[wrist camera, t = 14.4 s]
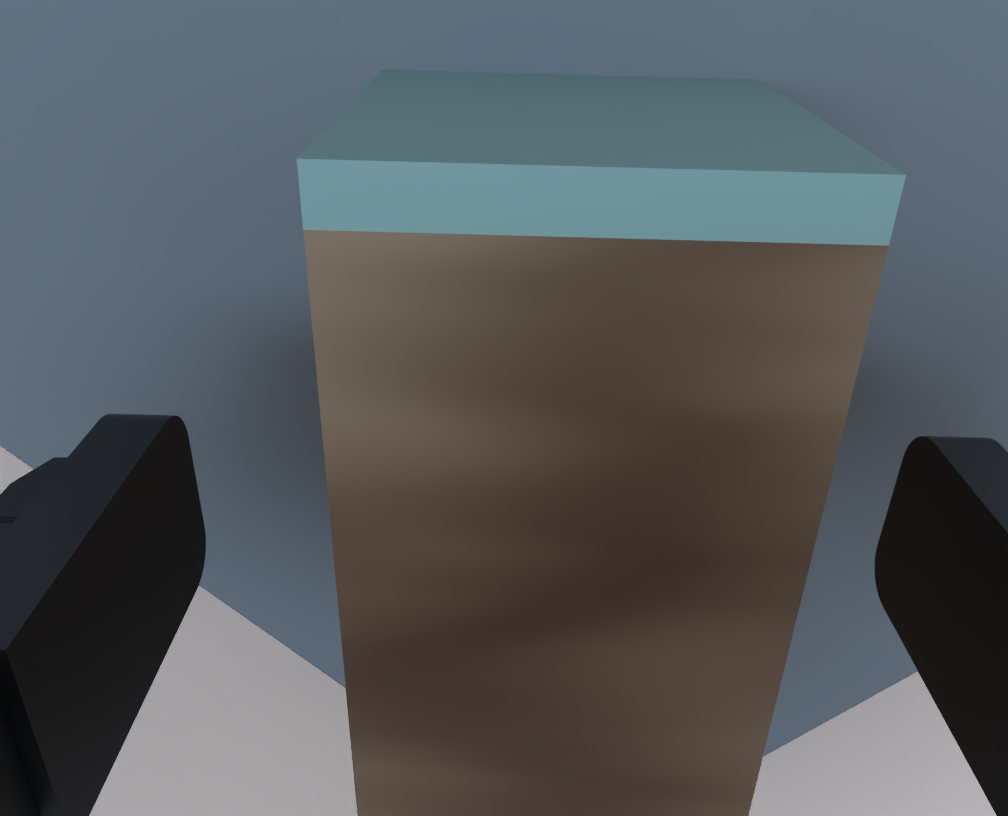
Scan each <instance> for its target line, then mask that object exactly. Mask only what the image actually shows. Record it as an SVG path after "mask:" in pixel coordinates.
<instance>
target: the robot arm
mask: <svg viewBox="0 0 1008 816" xmlns="http://www.w3.org/2000/svg"><path fill="white" fill-rule="evenodd" d="M205 555H206V533H205V526H204V520H203V514H202V509H201V503H200V497H199V492H198V486H197V480H196V475H195V469H194V464H193V458H192V452H191V447H190V441H189V436H188V432H187V429H186V426H185V424H184V422H183V420H182V419H181V418H180V417H179V416H176V415H142V414H106V415H104V416H103V417H101V418H100V419H99V420H98V422H97V423H96V424H95V425H94V426H93V428H92V429H91V430H90V431H89V432H88V434H87V435H86V436H85V437H84V438H83V440H82V441H81V442H80V443H79V444H78V446H77V447H76V448H75V449H74V450H73V451H72V453H71V454H70V455H69V456H68V457H54V458H52V459H50V460H49V461H47V462H45V463H44V464H42V465H40V466H39V467H37V468H36V469H34V470H32V471H31V472H29V473H27V474H26V475H24V476H22V477H21V478H19V479H17V480H16V481H14V482H13V483H11V484H10V485H9V486H8V487H7V488H6V489H5V490H4V491H3V492H2V494H1V495H0V816H89V815H90V813H91V810H92V808H93V806H94V804H95V802H96V800H97V798H98V796H99V794H100V792H101V789H102V787H103V785H104V783H105V781H106V779H107V777H108V775H109V773H110V771H111V768H112V766H113V764H114V762H115V760H116V758H117V756H118V754H119V752H120V750H121V747H122V745H123V743H124V741H125V739H126V737H127V735H128V733H129V731H130V729H131V727H132V724H133V722H134V720H135V718H136V716H137V714H138V712H139V710H140V708H141V706H142V703H143V701H144V699H145V697H146V695H147V693H148V691H149V689H150V687H151V685H152V682H153V680H154V678H155V676H156V674H157V672H158V670H159V668H160V666H161V664H162V661H163V659H164V657H165V655H166V653H167V651H168V649H169V647H170V645H171V643H172V640H173V638H174V636H175V634H176V632H177V630H178V628H179V626H180V624H181V622H182V620H183V617H184V615H185V613H186V611H187V609H188V607H189V605H190V603H191V601H192V599H193V596H194V594H195V592H196V590H197V588H198V586H199V583H200V580H201V577H202V573H203V569H204V563H205ZM875 582H876V588H877V592H878V596H879V599H880V601H881V604H882V606H883V608H884V610H885V611H886V613H887V615H888V617H889V619H890V621H891V622H892V624H893V626H894V628H895V630H896V632H897V633H898V635H899V637H900V639H901V641H902V643H903V644H904V646H905V648H906V650H907V652H908V654H909V656H910V657H911V659H912V661H913V663H914V665H915V667H916V668H917V670H918V672H919V674H920V676H921V678H922V679H923V681H924V683H925V685H926V687H927V689H928V690H929V692H930V694H931V696H932V698H933V700H934V701H935V703H936V705H937V707H938V709H939V711H940V712H941V714H942V716H943V718H944V720H945V722H946V723H947V725H948V727H949V729H950V731H951V733H952V734H953V736H954V738H955V740H956V742H957V744H958V745H959V747H960V749H961V751H962V753H963V755H964V756H965V758H966V760H967V762H968V764H969V766H970V767H971V769H972V771H973V773H974V775H975V777H976V778H977V780H978V782H979V784H980V786H981V788H982V789H983V791H984V793H985V795H986V797H987V799H988V800H989V802H990V804H991V806H992V808H993V810H994V811H995V813H996V815H997V816H1008V452H1007V451H1006V450H1005V449H1004V448H1003V447H1002V446H1001V445H1000V444H999V443H998V442H997V441H995V440H993V439H991V438H979V437H939V436H920V437H917V438H915V439H914V440H913V441H911V443H910V444H909V445H908V447H907V449H906V451H905V453H904V456H903V459H902V463H901V466H900V470H899V473H898V476H897V480H896V483H895V487H894V490H893V494H892V497H891V500H890V504H889V507H888V511H887V514H886V517H885V521H884V524H883V528H882V531H881V535H880V538H879V541H878V545H877V549H876V554H875Z"/></svg>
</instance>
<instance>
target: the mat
mask: <svg viewBox="0 0 1008 816" xmlns="http://www.w3.org/2000/svg"><path fill="white" fill-rule="evenodd" d="M381 70H407V71H445V72H484V73H522V74H560V75H598V76H636V77H675V78H713V79H751V80H761V81H763V82H764V83H766V84H767V85H769V86H770V87H772V88H773V89H775V90H776V91H778V92H779V93H781V94H783V95H784V96H786V97H787V98H789V99H790V100H792V101H793V102H795V103H796V104H798V105H799V106H801V107H803V108H804V109H806V110H807V111H809V112H810V113H812V114H813V115H815V116H816V117H818V118H819V119H821V120H823V121H824V122H826V123H827V124H829V125H830V126H832V127H833V128H835V129H836V130H838V131H839V132H841V133H842V134H844V135H846V136H847V137H849V138H850V139H852V140H853V141H855V142H856V143H858V144H859V145H861V146H862V147H864V148H866V149H867V150H869V151H870V152H872V153H873V154H875V155H876V156H878V157H879V158H881V159H882V160H884V161H886V162H887V163H889V164H890V165H892V166H893V167H895V168H896V169H898V170H899V171H901V172H902V173H904V174H905V175H906V178H905V182H904V186H903V190H902V194H901V198H900V202H899V206H898V210H897V214H896V219H895V223H894V227H893V231H892V235H891V239H890V243H889V247H888V251H887V255H886V259H885V263H884V267H883V271H882V275H881V279H880V283H879V287H878V291H877V295H876V300H875V304H874V308H873V312H872V316H871V320H870V324H869V328H868V332H867V336H866V340H865V344H864V348H863V352H862V356H861V360H860V364H859V368H858V372H857V376H856V381H855V385H854V389H853V393H852V397H851V401H850V405H849V409H848V413H847V417H846V421H845V425H844V429H843V433H842V437H841V441H840V445H839V449H838V453H837V457H836V462H835V466H834V470H833V474H832V478H831V482H830V486H829V490H828V494H827V498H826V502H825V506H824V510H823V514H822V518H821V522H820V526H819V530H818V534H817V539H816V543H815V547H814V551H813V555H812V559H811V563H810V567H809V571H808V575H807V579H806V583H805V587H804V591H803V595H802V599H801V603H800V607H799V611H798V615H797V620H796V624H795V628H794V632H793V636H792V640H791V644H790V648H789V652H788V656H787V660H786V664H785V668H784V672H783V676H782V680H781V684H780V688H779V692H778V696H777V701H776V705H775V709H774V713H773V717H772V721H771V725H770V729H769V733H768V737H767V741H766V745H765V749H764V753H763V756H765V755H767V754H768V753H770V752H772V751H774V750H776V749H777V748H779V747H781V746H783V745H785V744H787V743H788V742H790V741H792V740H794V739H796V738H797V737H799V736H801V735H803V734H805V733H806V732H808V731H810V730H812V729H814V728H815V727H817V726H819V725H821V724H823V723H825V722H826V721H828V720H830V719H832V718H834V717H835V716H837V715H839V714H841V713H843V712H844V711H846V710H848V709H850V708H852V707H853V706H855V705H857V704H859V703H861V702H862V701H864V700H866V699H868V698H870V697H872V696H873V695H875V694H877V693H879V692H881V691H882V690H884V689H886V688H888V687H890V686H891V685H893V684H895V683H897V682H899V681H900V680H902V679H904V678H906V677H908V676H909V675H911V674H913V673H915V672H917V671H918V670H917V668H916V667H915V665H914V663H913V661H912V659H911V657H910V656H909V654H908V652H907V650H906V648H905V646H904V644H903V643H902V641H901V639H900V637H899V635H898V633H897V632H896V630H895V628H894V626H893V624H892V622H891V621H890V619H889V617H888V615H887V613H886V611H885V610H884V608H883V606H882V604H881V601H880V599H879V596H878V592H877V588H876V582H875V554H876V549H877V545H878V541H879V538H880V535H881V531H882V528H883V524H884V521H885V517H886V514H887V511H888V507H889V504H890V500H891V497H892V494H893V490H894V487H895V483H896V480H897V476H898V473H899V470H900V466H901V463H902V459H903V456H904V453H905V451H906V449H907V447H908V445H909V444H910V443H911V441H913V440H914V439H915V438H917V437H920V436H939V437H979V438H991V439H993V440H995V441H997V442H998V443H999V444H1000V445H1001V446H1002V447H1003V448H1004V449H1005V450H1006V451H1007V452H1008V0H0V446H2V447H3V448H4V449H6V450H7V451H9V452H10V453H12V454H13V455H14V456H16V457H17V458H19V459H20V460H22V461H23V462H24V463H26V464H27V465H29V466H30V467H31V468H33V469H36V468H37V467H39V466H40V465H42V464H44V463H45V462H47V461H49V460H50V459H52V458H54V457H68V456H69V455H70V454H71V453H72V451H73V450H74V449H75V448H76V447H77V446H78V444H79V443H80V442H81V441H82V440H83V438H84V437H85V436H86V435H87V434H88V432H89V431H90V430H91V429H92V428H93V426H94V425H95V424H96V423H97V422H98V420H99V419H100V418H101V417H103V416H104V415H106V414H142V415H176V416H179V417H180V418H181V419H182V420H183V422H184V424H185V426H186V429H187V432H188V436H189V441H190V447H191V452H192V458H193V464H194V469H195V475H196V480H197V486H198V492H199V497H200V503H201V509H202V514H203V520H204V526H205V533H206V555H205V563H204V569H203V573H202V577H201V580H200V583H199V585H200V586H201V587H203V588H204V589H205V590H207V591H208V592H210V593H211V594H213V595H214V596H215V597H217V598H218V599H220V600H221V601H222V602H224V603H225V604H227V605H228V606H230V607H231V608H232V609H234V610H235V611H237V612H238V613H240V614H241V615H242V616H244V617H245V618H247V619H248V620H250V621H251V622H252V623H254V624H255V625H257V626H258V627H260V628H261V629H262V630H264V631H265V632H267V633H268V634H270V635H271V636H272V637H274V638H275V639H277V640H278V641H280V642H281V643H282V644H284V645H285V646H287V647H288V648H289V649H291V650H292V651H294V652H295V653H297V654H298V655H299V656H301V657H302V658H304V659H305V660H307V661H308V662H309V663H311V664H312V665H314V666H315V667H317V668H318V669H319V670H321V671H322V672H324V673H325V674H327V675H328V676H329V677H331V678H332V679H334V680H335V681H337V682H338V683H339V684H341V685H342V686H344V687H345V688H346V685H345V674H344V663H343V652H342V642H341V631H340V620H339V609H338V599H337V588H336V577H335V566H334V556H333V545H332V534H331V523H330V513H329V502H328V491H327V480H326V470H325V459H324V448H323V437H322V427H321V416H320V405H319V394H318V384H317V373H316V362H315V352H314V341H313V330H312V319H311V309H310V298H309V287H308V276H307V266H306V255H305V244H304V233H303V223H302V212H301V201H300V190H299V180H298V169H297V158H298V157H299V156H300V155H301V154H302V153H303V152H304V150H305V149H306V148H307V147H308V146H309V145H310V144H311V143H312V142H313V141H314V140H315V139H316V138H317V137H318V136H319V135H320V134H321V133H322V132H323V131H324V130H325V129H326V128H327V127H328V126H329V125H330V123H331V122H332V121H333V120H334V119H335V118H336V117H337V116H338V115H339V114H340V113H341V112H342V111H343V110H344V109H345V108H346V107H347V106H348V105H349V104H350V103H351V102H352V101H353V100H354V99H355V97H356V96H357V95H358V94H359V93H360V92H361V91H362V90H363V89H364V88H365V87H366V86H367V85H368V84H369V83H370V82H371V81H372V80H373V79H374V78H375V77H376V76H377V75H378V74H379V73H380V72H381Z"/></svg>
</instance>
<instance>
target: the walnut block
mask: <svg viewBox="0 0 1008 816" xmlns="http://www.w3.org/2000/svg"><path fill="white" fill-rule="evenodd" d="M297 169H298V180H299V190H300V201H301V212H302V223H303V233H304V244H305V255H306V266H307V276H308V287H309V298H310V309H311V319H312V330H313V341H314V352H315V362H316V373H317V384H318V394H319V405H320V416H321V427H322V437H323V448H324V459H325V470H326V480H327V491H328V502H329V513H330V523H331V534H332V545H333V556H334V566H335V577H336V588H337V599H338V609H339V620H340V631H341V642H342V652H343V663H344V674H345V685H346V695H347V706H348V717H349V728H350V738H351V749H352V760H353V771H354V781H355V792H356V803H357V814H358V816H748V814H749V810H750V806H751V802H752V798H753V794H754V790H755V786H756V782H757V777H758V773H759V769H760V765H761V761H762V757H763V753H764V749H765V745H766V741H767V737H768V733H769V729H770V725H771V721H772V717H773V713H774V709H775V705H776V701H777V696H778V692H779V688H780V684H781V680H782V676H783V672H784V668H785V664H786V660H787V656H788V652H789V648H790V644H791V640H792V636H793V632H794V628H795V624H796V620H797V615H798V611H799V607H800V603H801V599H802V595H803V591H804V587H805V583H806V579H807V575H808V571H809V567H810V563H811V559H812V555H813V551H814V547H815V543H816V539H817V534H818V530H819V526H820V522H821V518H822V514H823V510H824V506H825V502H826V498H827V494H828V490H829V486H830V482H831V478H832V474H833V470H834V466H835V462H836V457H837V453H838V449H839V445H840V441H841V437H842V433H843V429H844V425H845V421H846V417H847V413H848V409H849V405H850V401H851V397H852V393H853V389H854V385H855V381H856V376H857V372H858V368H859V364H860V360H861V356H862V352H863V348H864V344H865V340H866V336H867V332H868V328H869V324H870V320H871V316H872V312H873V308H874V304H875V300H876V295H877V291H878V287H879V283H880V279H881V275H882V271H883V267H884V263H885V259H886V255H887V251H888V247H889V243H890V239H891V235H892V231H893V227H894V223H895V219H896V214H897V210H898V206H899V202H900V198H901V194H902V190H903V186H904V182H905V178H906V175H905V174H904V173H902V172H901V171H899V170H898V169H896V168H895V167H893V166H892V165H890V164H889V163H887V162H886V161H884V160H882V159H881V158H879V157H878V156H876V155H875V154H873V153H872V152H870V151H869V150H867V149H866V148H864V147H862V146H861V145H859V144H858V143H856V142H855V141H853V140H852V139H850V138H849V137H847V136H846V135H844V134H842V133H841V132H839V131H838V130H836V129H835V128H833V127H832V126H830V125H829V124H827V123H826V122H824V121H823V120H821V119H819V118H818V117H816V116H815V115H813V114H812V113H810V112H809V111H807V110H806V109H804V108H803V107H801V106H799V105H798V104H796V103H795V102H793V101H792V100H790V99H789V98H787V97H786V96H784V95H783V94H781V93H779V92H778V91H776V90H775V89H773V88H772V87H770V86H769V85H767V84H766V83H764V82H763V81H761V80H751V79H713V78H675V77H636V76H598V75H560V74H522V73H484V72H445V71H407V70H381V72H380V73H379V74H378V75H377V76H376V77H375V78H374V79H373V80H372V81H371V82H370V83H369V84H368V85H367V86H366V87H365V88H364V89H363V90H362V91H361V92H360V93H359V94H358V95H357V96H356V97H355V99H354V100H353V101H352V102H351V103H350V104H349V105H348V106H347V107H346V108H345V109H344V110H343V111H342V112H341V113H340V114H339V115H338V116H337V117H336V118H335V119H334V120H333V121H332V122H331V123H330V125H329V126H328V127H327V128H326V129H325V130H324V131H323V132H322V133H321V134H320V135H319V136H318V137H317V138H316V139H315V140H314V141H313V142H312V143H311V144H310V145H309V146H308V147H307V148H306V149H305V150H304V152H303V153H302V154H301V155H300V156H299V157H298V158H297Z"/></svg>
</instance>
